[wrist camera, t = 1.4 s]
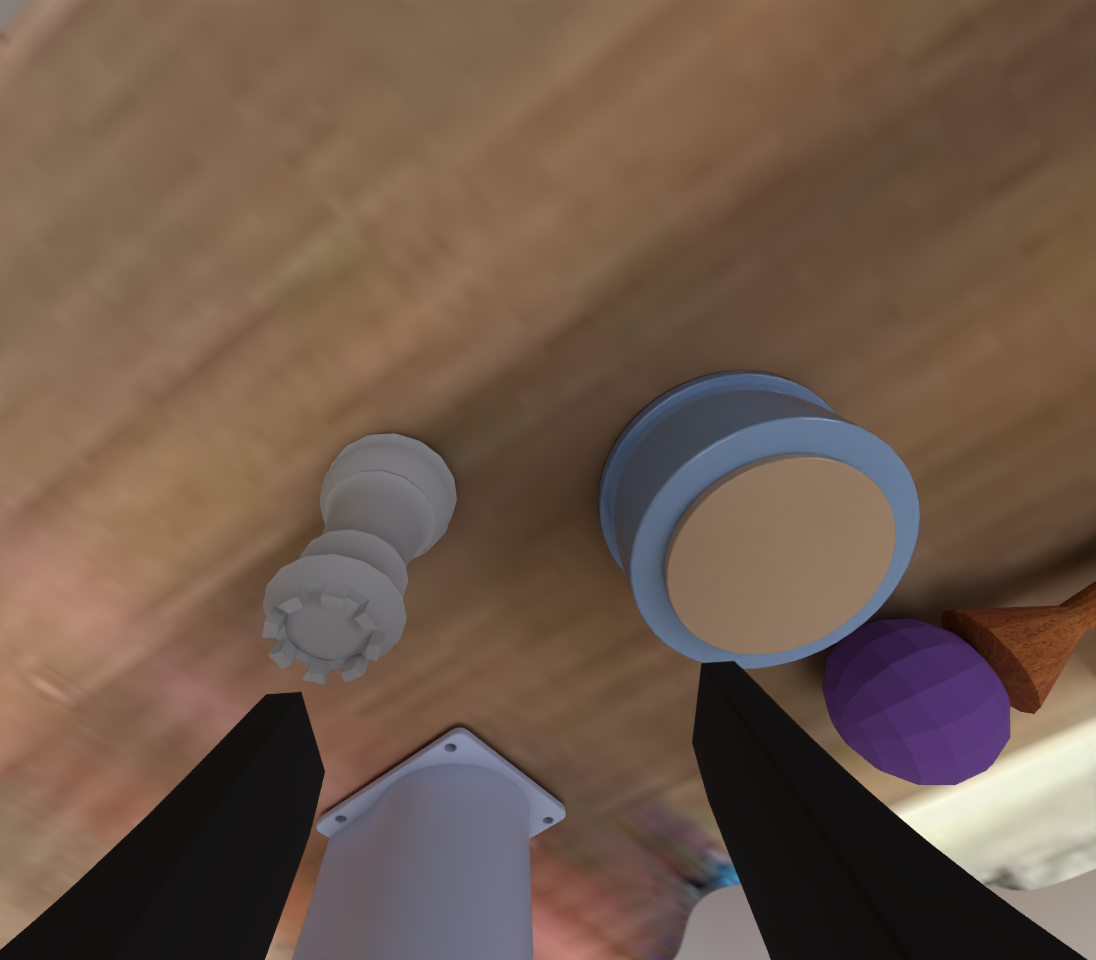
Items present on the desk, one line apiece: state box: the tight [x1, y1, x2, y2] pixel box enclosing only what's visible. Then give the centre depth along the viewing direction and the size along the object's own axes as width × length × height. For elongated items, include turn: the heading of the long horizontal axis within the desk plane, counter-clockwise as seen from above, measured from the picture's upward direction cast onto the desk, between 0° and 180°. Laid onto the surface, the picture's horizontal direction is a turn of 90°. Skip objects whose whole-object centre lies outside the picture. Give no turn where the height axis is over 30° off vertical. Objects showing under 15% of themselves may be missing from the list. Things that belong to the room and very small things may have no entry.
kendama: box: [822, 581, 1096, 785], centre depth 20 cm, size 6×6×20 cm
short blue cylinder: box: [598, 370, 920, 669], centre depth 18 cm, size 9×9×5 cm
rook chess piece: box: [262, 433, 457, 685], centre depth 15 cm, size 4×4×8 cm
